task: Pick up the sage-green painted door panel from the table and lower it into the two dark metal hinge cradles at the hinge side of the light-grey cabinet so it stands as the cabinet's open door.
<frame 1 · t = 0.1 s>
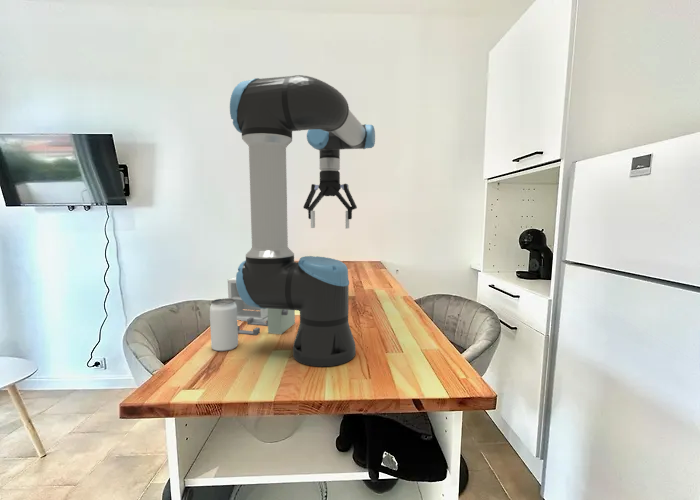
hand: (329, 228, 133), 28 cm above the table, fingers open, 13 cm apart
cabinet: (252, 317, 114), on the table
can: (225, 347, 90), on the table
door: (282, 328, 105), on the table
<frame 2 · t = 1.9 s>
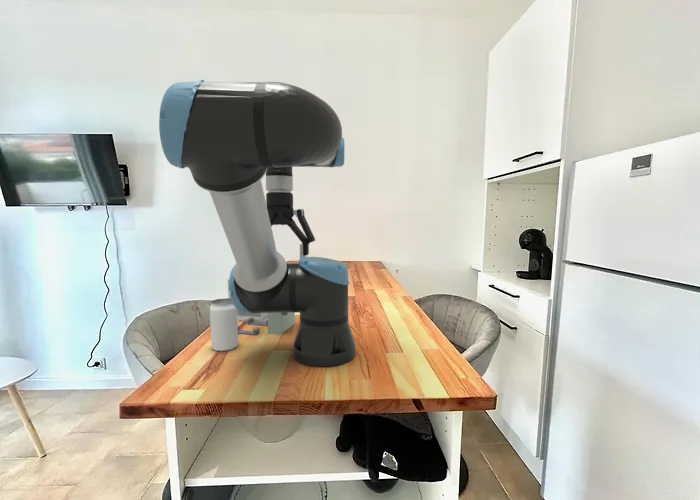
hand: (281, 266, 103), 19 cm above the table, fingers open, 13 cm apart
nothing on the table moved.
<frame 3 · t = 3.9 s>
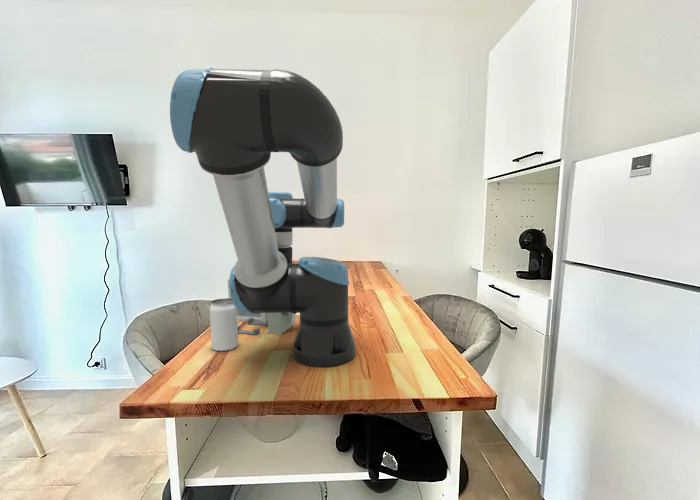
hand: (278, 322, 105), 2 cm above the table, fingers open, 8 cm apart
nothing on the table moved.
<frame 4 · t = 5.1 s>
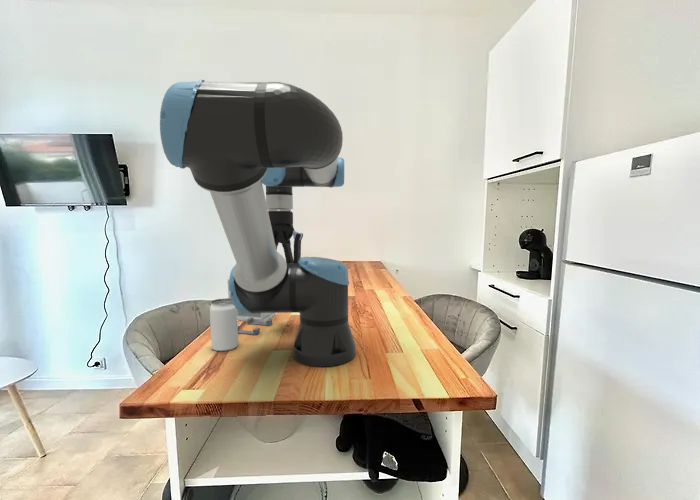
hand: (281, 290, 103), 11 cm above the table, fingers closed on door, 4 cm apart
door: (281, 297, 103), point 9 cm above the table, touching gripper
everything else where it was.
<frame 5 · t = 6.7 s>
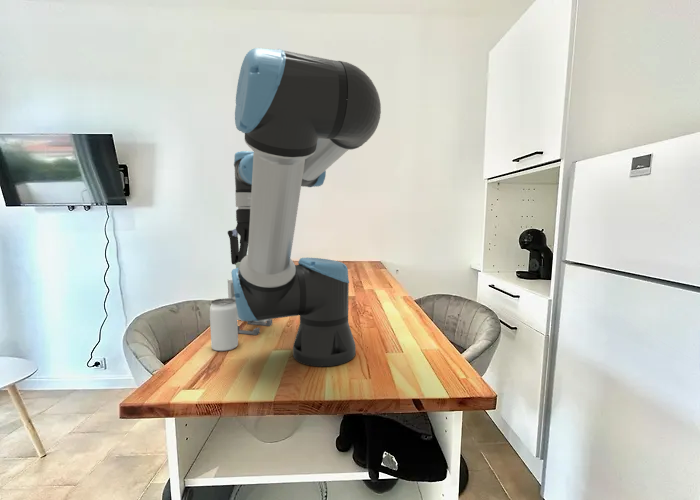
hand: (252, 288, 103), 12 cm above the table, fingers closed on door, 4 cm apart
door: (252, 294, 103), point 10 cm above the table, touching gripper
everything else where it was.
when the fingers open (2 cm above the table, at t = 8.9 s): door stays where it is, resting on cabinet.
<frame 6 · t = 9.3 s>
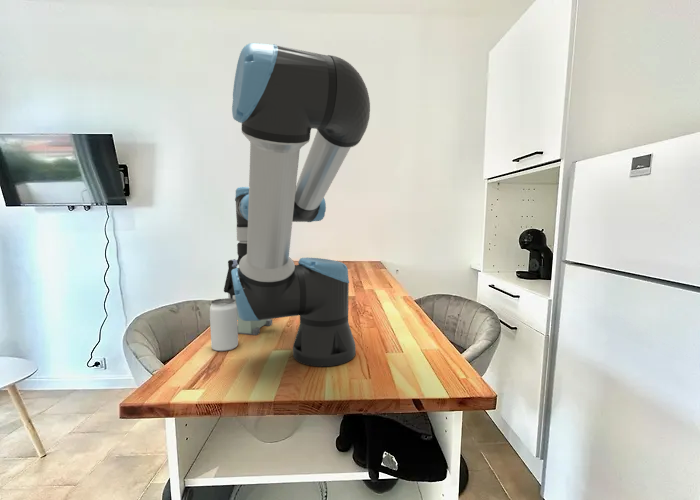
hand: (253, 317, 104), 3 cm above the table, fingers open, 10 cm apart
door: (253, 327, 104), resting on cabinet
everything else where it was.
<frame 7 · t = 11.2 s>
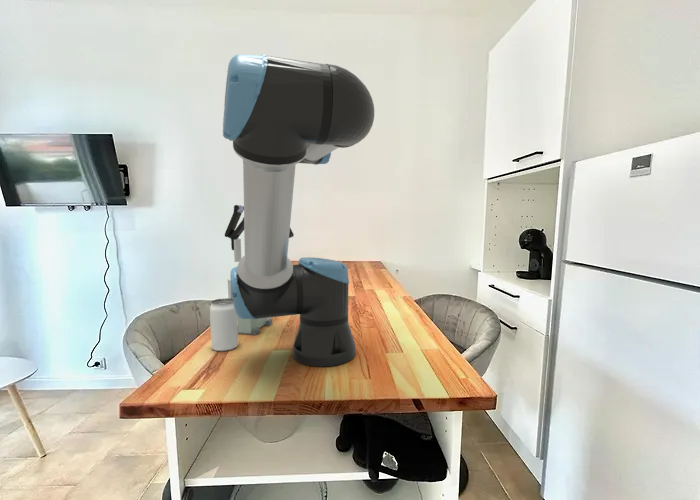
hand: (259, 262, 102), 20 cm above the table, fingers open, 13 cm apart
nothing on the table moved.
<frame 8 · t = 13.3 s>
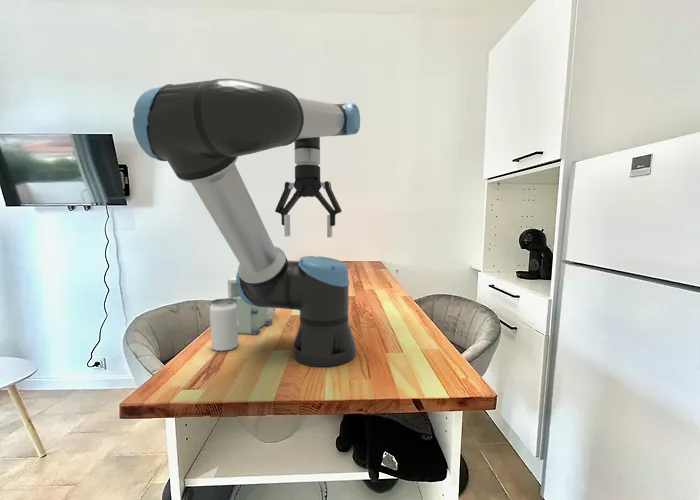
hand: (308, 236, 107), 27 cm above the table, fingers open, 13 cm apart
nothing on the table moved.
at the end: door tilted 0°; the gripper is holding nothing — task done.
